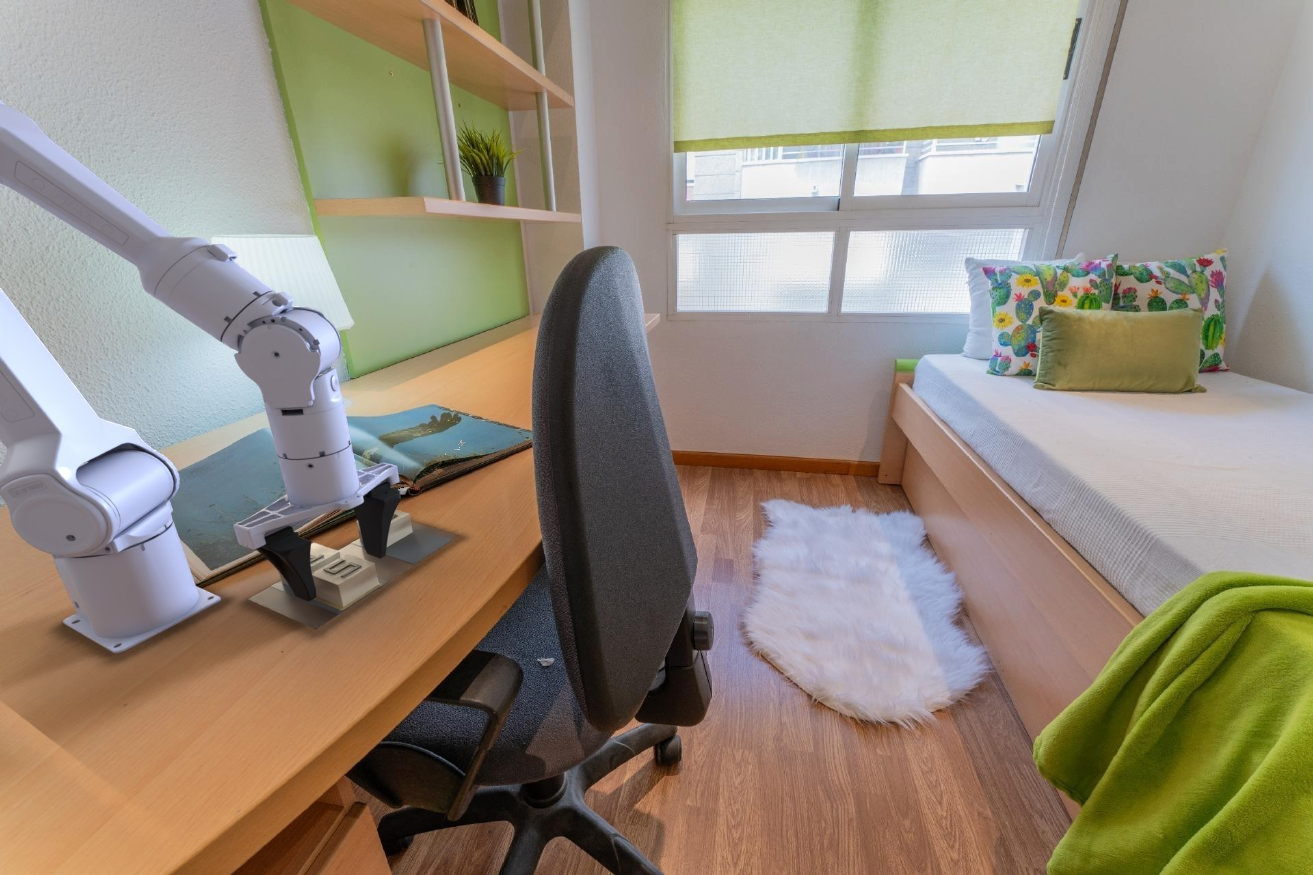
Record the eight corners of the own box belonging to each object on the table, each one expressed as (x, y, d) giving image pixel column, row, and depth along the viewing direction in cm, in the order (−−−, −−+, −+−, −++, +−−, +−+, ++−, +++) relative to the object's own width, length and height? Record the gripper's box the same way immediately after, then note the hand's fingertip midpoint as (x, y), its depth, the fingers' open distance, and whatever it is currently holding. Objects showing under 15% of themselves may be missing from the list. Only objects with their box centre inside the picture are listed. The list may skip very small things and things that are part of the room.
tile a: (360, 540, 61) (355, 520, 60) (388, 525, 64) (385, 505, 63) (384, 548, 59) (380, 528, 58) (412, 532, 63) (409, 512, 62)
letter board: (248, 602, 51) (247, 598, 51) (399, 519, 66) (399, 516, 66) (316, 632, 47) (315, 628, 47) (460, 538, 63) (459, 534, 62)
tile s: (315, 596, 51) (309, 573, 50) (351, 574, 55) (347, 552, 54) (343, 607, 50) (337, 583, 49) (379, 584, 53) (374, 561, 52)
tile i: (281, 583, 53) (275, 560, 52) (319, 562, 57) (313, 541, 56) (307, 593, 52) (301, 570, 51) (344, 572, 55) (339, 550, 54)
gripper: (257, 488, 39) (297, 632, 44) (412, 430, 52) (430, 547, 56) (202, 470, 42) (245, 609, 46) (362, 419, 54) (383, 532, 59)
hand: (343, 574), depth 52 cm, fingers open, 7 cm apart
